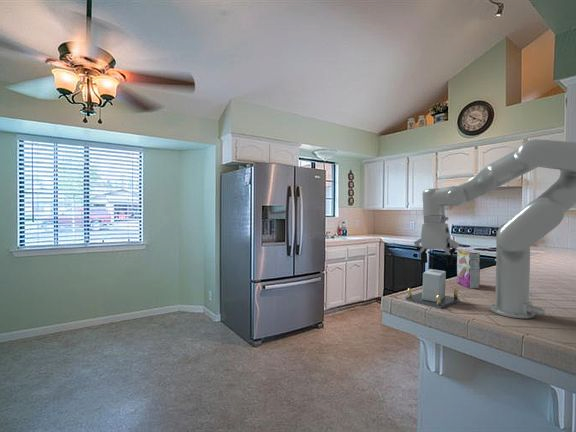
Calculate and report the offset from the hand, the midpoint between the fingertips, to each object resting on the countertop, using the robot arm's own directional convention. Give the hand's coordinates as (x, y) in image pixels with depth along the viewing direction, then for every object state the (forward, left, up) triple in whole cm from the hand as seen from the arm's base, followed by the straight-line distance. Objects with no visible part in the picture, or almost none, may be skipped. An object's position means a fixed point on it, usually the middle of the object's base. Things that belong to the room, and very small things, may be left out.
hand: (436, 264), depth 122 cm
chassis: (+1, 0, -15) cm, 15 cm away
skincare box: (+1, 0, -14) cm, 14 cm away
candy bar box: (+3, -36, -15) cm, 39 cm away
